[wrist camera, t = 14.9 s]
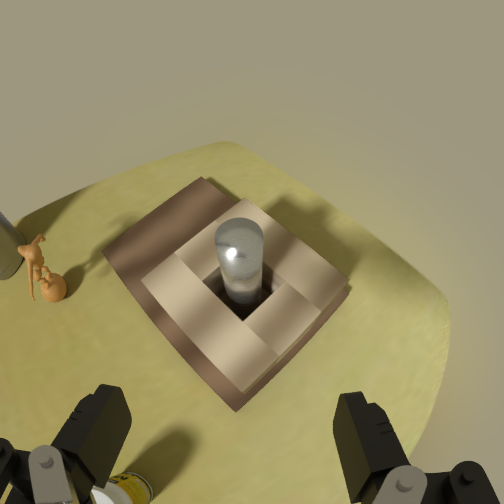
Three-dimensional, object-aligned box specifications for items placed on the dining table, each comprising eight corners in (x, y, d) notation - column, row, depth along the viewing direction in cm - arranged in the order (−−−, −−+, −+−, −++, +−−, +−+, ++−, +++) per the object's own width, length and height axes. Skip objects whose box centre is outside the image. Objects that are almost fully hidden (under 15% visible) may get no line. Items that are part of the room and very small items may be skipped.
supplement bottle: (138, 466, 23) (102, 479, 15) (162, 499, 21) (133, 522, 13) (108, 478, 21) (69, 490, 14) (130, 510, 19) (97, 531, 12)
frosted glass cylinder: (223, 304, 31) (204, 236, 20) (245, 284, 32) (240, 210, 21) (244, 325, 30) (237, 267, 19) (267, 304, 31) (273, 236, 20)
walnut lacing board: (106, 256, 36) (101, 251, 35) (202, 183, 42) (201, 176, 41) (236, 412, 26) (235, 412, 25) (345, 298, 33) (349, 294, 31)
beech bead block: (159, 302, 31) (140, 280, 26) (246, 229, 36) (244, 197, 31) (244, 394, 26) (242, 392, 21) (334, 302, 31) (349, 279, 26)
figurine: (54, 269, 35) (8, 223, 25) (85, 263, 36) (40, 212, 25) (48, 322, 31) (-9, 285, 21) (81, 319, 31) (24, 279, 21)
